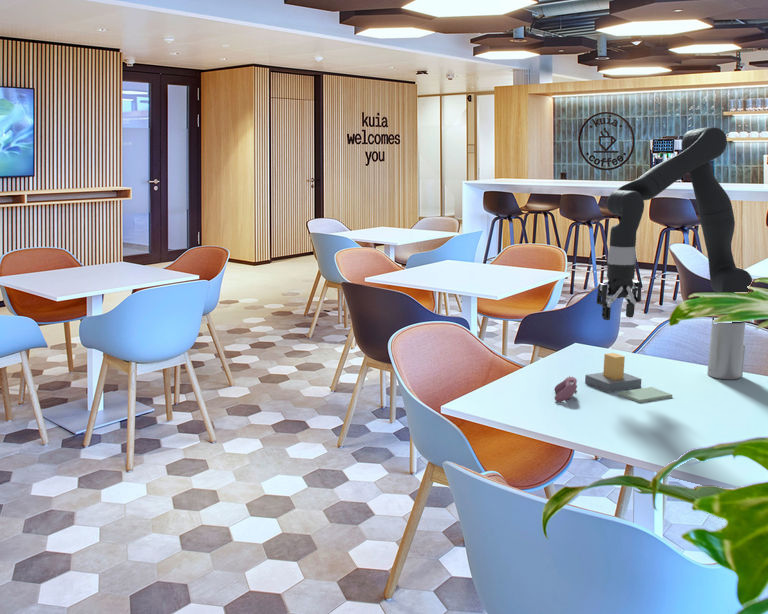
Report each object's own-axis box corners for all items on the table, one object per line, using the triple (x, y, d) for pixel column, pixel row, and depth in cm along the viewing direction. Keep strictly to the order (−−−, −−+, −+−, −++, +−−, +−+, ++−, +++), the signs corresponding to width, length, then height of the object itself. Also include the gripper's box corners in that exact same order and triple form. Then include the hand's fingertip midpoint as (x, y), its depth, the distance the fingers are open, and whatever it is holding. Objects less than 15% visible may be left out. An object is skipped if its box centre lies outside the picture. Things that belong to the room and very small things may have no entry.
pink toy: (568, 408, 212) (581, 387, 210) (553, 400, 212) (566, 378, 210) (567, 397, 221) (580, 377, 219) (552, 389, 222) (565, 369, 220)
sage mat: (651, 389, 224) (651, 386, 224) (672, 397, 217) (672, 394, 217) (618, 394, 219) (618, 391, 219) (638, 402, 212) (639, 399, 212)
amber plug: (611, 382, 231) (613, 352, 229) (622, 386, 227) (624, 356, 225) (602, 383, 230) (604, 354, 228) (613, 388, 225) (615, 357, 224)
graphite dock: (616, 378, 235) (617, 370, 235) (640, 387, 226) (641, 378, 226) (585, 383, 230) (585, 374, 230) (608, 392, 221) (608, 383, 221)
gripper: (631, 259, 227) (627, 314, 230) (592, 261, 221) (589, 318, 224) (650, 262, 221) (646, 318, 224) (611, 265, 215) (607, 323, 218)
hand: (617, 318), depth 224 cm, fingers open, 8 cm apart
